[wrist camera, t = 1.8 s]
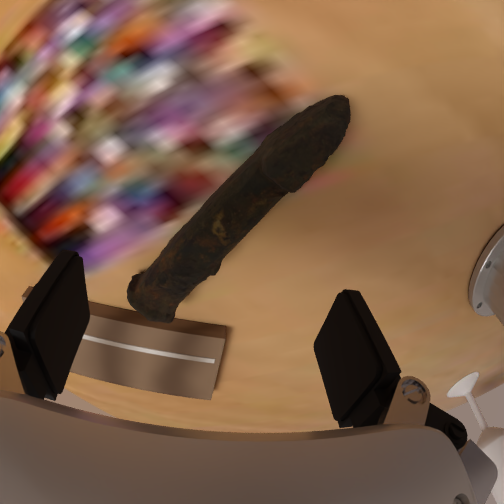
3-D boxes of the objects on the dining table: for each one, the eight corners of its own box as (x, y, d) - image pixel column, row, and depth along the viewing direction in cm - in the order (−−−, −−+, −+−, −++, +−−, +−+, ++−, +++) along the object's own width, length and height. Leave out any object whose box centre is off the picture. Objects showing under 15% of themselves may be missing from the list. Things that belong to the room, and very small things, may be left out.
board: (225, 326, 25) (225, 339, 24) (211, 388, 30) (210, 401, 29) (28, 286, 22) (21, 296, 21) (50, 354, 27) (45, 364, 26)
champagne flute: (485, 369, 35) (538, 479, 15) (464, 393, 39) (508, 498, 18) (462, 374, 34) (517, 498, 14) (440, 400, 38) (484, 516, 17)
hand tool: (173, 300, 24) (164, 342, 20) (133, 271, 22) (116, 311, 18) (360, 128, 18) (394, 142, 14) (321, 81, 16) (347, 80, 12)
